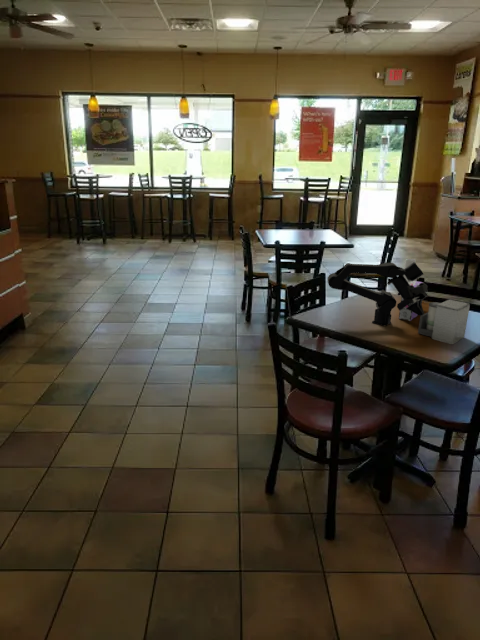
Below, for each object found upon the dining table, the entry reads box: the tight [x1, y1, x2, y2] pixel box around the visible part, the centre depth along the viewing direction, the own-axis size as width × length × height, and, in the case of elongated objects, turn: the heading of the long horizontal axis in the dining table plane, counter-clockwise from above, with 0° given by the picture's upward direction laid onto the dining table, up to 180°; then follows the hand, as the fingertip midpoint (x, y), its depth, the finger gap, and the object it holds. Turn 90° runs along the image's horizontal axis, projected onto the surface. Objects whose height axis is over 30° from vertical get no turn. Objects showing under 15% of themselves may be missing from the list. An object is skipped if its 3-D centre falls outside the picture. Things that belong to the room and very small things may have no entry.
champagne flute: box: [403, 258, 417, 283], centre depth 245 cm, size 7×7×24 cm
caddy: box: [431, 299, 471, 345], centre depth 200 cm, size 9×12×15 cm
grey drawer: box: [417, 311, 433, 338], centre depth 206 cm, size 10×10×8 cm
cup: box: [426, 301, 441, 331], centre depth 205 cm, size 6×6×12 cm
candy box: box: [398, 280, 423, 322], centre depth 228 cm, size 14×6×16 cm, turn 143°
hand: (423, 316), depth 209 cm, fingers closed
